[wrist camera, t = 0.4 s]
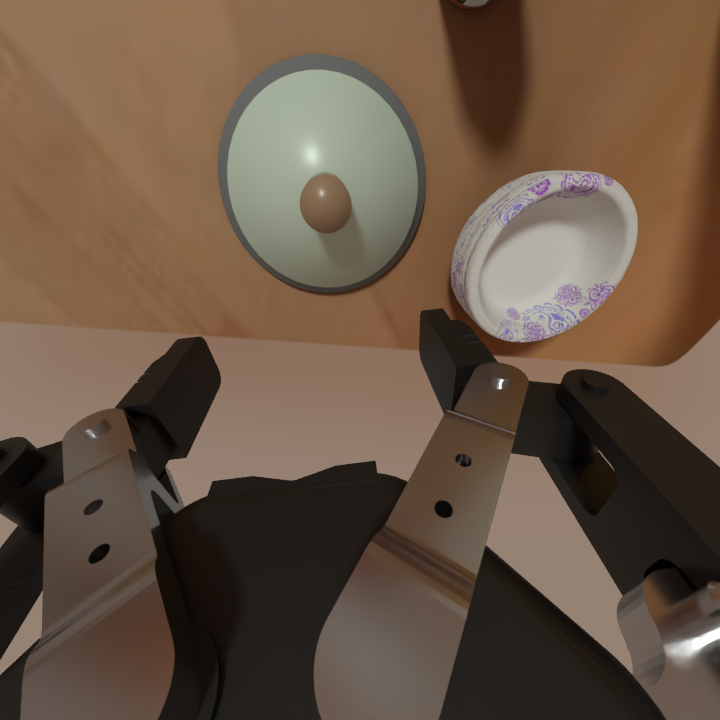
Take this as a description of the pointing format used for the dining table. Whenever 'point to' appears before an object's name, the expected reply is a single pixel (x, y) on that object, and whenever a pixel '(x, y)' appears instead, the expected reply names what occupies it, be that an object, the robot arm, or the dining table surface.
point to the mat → (331, 65)
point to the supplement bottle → (470, 3)
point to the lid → (322, 178)
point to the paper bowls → (543, 253)
